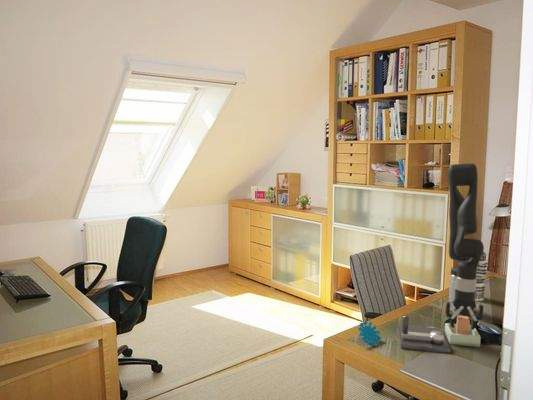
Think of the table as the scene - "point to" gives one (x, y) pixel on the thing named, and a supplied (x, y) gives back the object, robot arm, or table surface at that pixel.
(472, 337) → the tray
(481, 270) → the decorative candle
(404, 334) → the crank
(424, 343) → the base plate
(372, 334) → the gear
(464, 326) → the block
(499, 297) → the table surface
